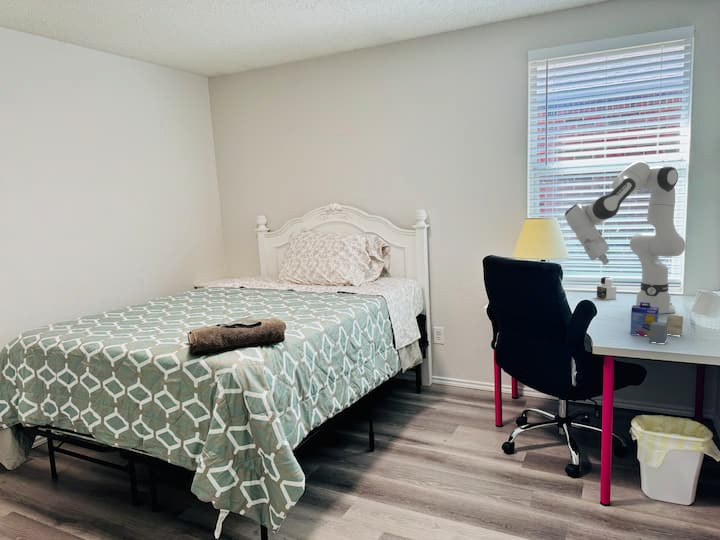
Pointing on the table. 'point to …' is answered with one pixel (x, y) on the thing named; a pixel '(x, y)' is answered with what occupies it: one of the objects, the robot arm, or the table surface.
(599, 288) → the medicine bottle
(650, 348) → the table surface
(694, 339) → the table surface
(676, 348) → the table surface
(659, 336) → the slate block
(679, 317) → the birch block
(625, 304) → the table surface
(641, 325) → the ink cartridge box
